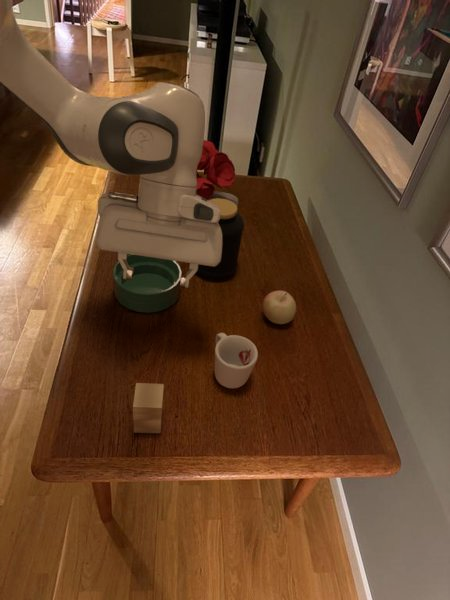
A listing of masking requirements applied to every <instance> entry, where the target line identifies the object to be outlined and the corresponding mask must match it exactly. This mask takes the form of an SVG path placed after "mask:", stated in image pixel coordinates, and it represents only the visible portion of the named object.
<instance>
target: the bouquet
mask: <svg viewBox="0 0 450 600" xmlns="http://www.w3.org/2000/svg"><path fill="white" fill-rule="evenodd" d="M199 171H201V172H202V171H203V173H200V174H199ZM202 175H204V176H205V175H206V178H205V177H204V176H202ZM196 178H197V189H196V194H197V195H198V196H200V197H203V198H205V199H206V200H211V199H216V198H219V199H226V200H229V201H232V202H233V203H235V204H236V206H237V207H238V206H239V205H238V204H239V198H238V197H237V196H235V195H234V194H232V193H228V192H222V191H215V189H216V188H215V187H218V188H220V189H222V190H224V189H223V187H224V188H227V187H230V186H232V185H234V183H235V179H236V169H235V165H234V163H233V162H232V160H231V159H230V158H229V155H228V154H227V153H225V152H223V151H219V150H218V149H217V148H216V145H215V144H214V142H213V141H210V140H206V139H204V142H203V149H202V156H201V160H200V162H199V164H198V167H197V172H196Z"/></svg>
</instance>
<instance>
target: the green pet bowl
mask: <svg viewBox="0 0 450 600" xmlns="http://www.w3.org/2000/svg"><path fill="white" fill-rule="evenodd" d="M126 261H127V263H128V265H129V267H133V268H134V272H133V279H132V280H129V279H123V273H124V269H123V268H122V266H121V264H120V262H119V260H118V261H117V262H116V263H115V264H114V266H113V269H112V284H113V293H114V297H115V299H116V300H117V301H118V303H119V304H120V305H122V306H123V307H125V308H126V309H127V310H132V311H134V312H136V313H149V314H150V313H156V312H157V313H158V312H161V311H164V310H167V309H169V308H170V307H172V305H174V304H176V302H177V301H178V299H179V298H180V295H181V287H180V280H181V275H183V273H182V272H183V271H182V269H181V266H180V265H179V263H178V262H177V261H173V260H166V259H159V258H153V257H146V256H139V255H133V254H128V257H127V259H126Z"/></svg>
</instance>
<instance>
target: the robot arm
mask: <svg viewBox="0 0 450 600" xmlns="http://www.w3.org/2000/svg"><path fill="white" fill-rule="evenodd" d="M0 84H1V85H2V87H4V88H5V89H6V90H7V91H9V92H10V93H11V94H12V95H14V96H15V97H16V98H17V99H18V100H19V101H20V102H22V103H23V104H24V105H25V106H26V107H27V108H29V109H30V110H31V111H32V112H33V113H34V114H36V115H37V116H38V117H39V118H40V119H41V121H42V122H43V123H44V124H45V125H46V126H47V128H48V130H49V131H50V133H51V134H52V136H53V138H54V139H55V141H56V143H57V145H58V146H59V147H60V149H61V150H62V151H63V153H64V154H65V155H66V156H67V157H68V158H70V159H71V160H72V161H74V162H75V163H77V164H80V165H82V166H88V167H94V168H98V169H101V170H104V171H107V172H111V173H113V174H118V175H121V176H137V175H138V176H139V183H138V184H139V185H138V194H130V193H121V192H118V191H111V190H110V191H108V192H107V193H104V194H102V195H100V197H99V198H98V200H97V214H98V216H99V217H100V219H99V222H98V227H97V231H96V239H95V243H96V245H97V246H98V249H100V250H101V251H107V252H114V253H117V260H118V261H119V262H120V264H121V266H122V268H123V269H124V273H123V279H129V280H132V279H133V272H134V268H133V267H129V265H128V263H127V261H126V259H127V257H128V255H129V254H133V255H139V256H146V257H153V258H159V259H166V260H173V261H176V262H181V263H186V264H187V263H188V264H189V265H188V266H189V270H188V271H187V273H186V274H181V280H180V288H186V289H189V285H190V280H191V279H192V278H193V277H194V275H195V274H196V273H197V272H198V271H197V270H198V264H200V265H206V266H213V267H215V266H216V265H218V264H219V263H220V261H221V255H222V231H221V227H220V225H219V223H218V221H219V220H220V216H221V210H220V208H219V207H218V206H217V205H216V204H214V203H212V202H210V201H208V200H209V199H208V200H206V199H205V198H203V197H200V196H198V195H197V194H196V189H197V178H196V172H197V171H198V170H197V167H198V164H199V162H200V160H201V156H202V149H203V142H204V140H205V131H206V110H205V104H204V102H203V99H201V97H200V96H199V95H198V94H197V93H196V92H194V91H193V90H191V89H189V88H187V87H185V86H183V85H178V84H176V83H174V82H169V81H158V82H155V84H154V85H153V86H151V87H150V88H148V89H145V90H143V91H140V92H137V93H134V94H130V95H124V96H121V97H115V96H114V97H113V96H111V97H109V96H99V95H94V94H92V93H88V92H85V91H84V90H81V89H79V88H77V87H76V86H74V85H73V84H72V83H70V81H68V80H67V79H66V78H65V76H63V74H61V72H59V71H58V70H57V68H56V67H55V66H53V64H52V63H51V62H50V61H49V60H48V59H47V58H46V57H45V56H44V55H43V54H42V53H41V52H40V51H39V50H38V49H37V47H35V46H34V45H33V43H31V42H30V41H29V39H28V38H27V37H26V36H25V34H24V33H23V31H22V30H21V28H20V26H19V24H18V21H17V19H16V16H15V12H14V6H13V0H0Z"/></svg>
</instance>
